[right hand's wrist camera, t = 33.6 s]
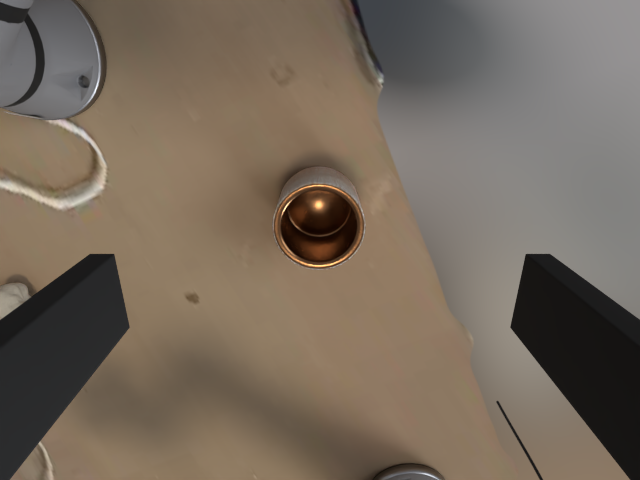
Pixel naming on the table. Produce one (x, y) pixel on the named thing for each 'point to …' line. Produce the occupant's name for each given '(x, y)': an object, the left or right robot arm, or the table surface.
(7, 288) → the dog toy
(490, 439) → the table surface
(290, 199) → the planter
